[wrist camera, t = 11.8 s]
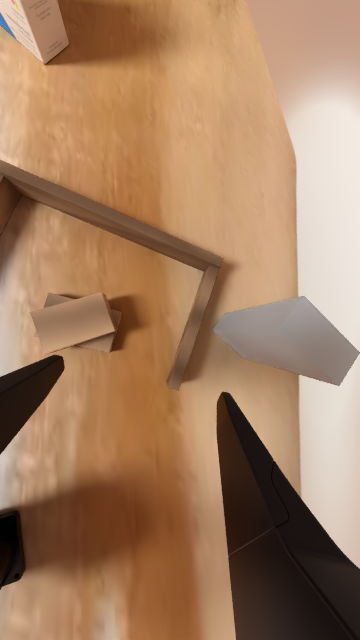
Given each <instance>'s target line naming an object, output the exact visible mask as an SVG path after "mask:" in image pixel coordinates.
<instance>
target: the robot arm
mask: <svg viewBox="0 0 360 640" xmlns="http://www.w3.org/2000/svg"><path fill="white" fill-rule="evenodd" d="M64 367H65V366H64V360H63V357H62V356H59V355H52V356H50V357H47V358H45V359H42V360H40V361H38V362H35V363H33V364H30V365H28V366H25V367H23V368H21V369H18V370H16V371H13V372H11V373H9V374H6V375H4V376H1V377H0V454H1V453H2V452H3V451H4V449H5V448H6V447H7V446H8V444H9V443H10V442H11V441H12V439H13V438H14V437H15V436H16V434H17V433H18V432H19V431H20V429H21V428H22V427H23V426H24V424H25V423H26V422H27V421H28V419H29V418H30V417H31V416H32V414H33V413H34V412H35V411H36V409H37V408H38V407H39V406H40V404H41V403H42V402H43V401H44V399H45V398H46V397H47V395H48V394H49V392H50V391H51V389H52V388H53V386H54V385H55V383H56V382H57V380H58V379H59V377H60V376H61V374H62V373H63V371H64ZM217 443H218V454H219V464H220V475H221V485H222V496H223V506H224V516H225V527H226V537H227V548H228V556H229V558H228V559H229V569H230V580H231V590H232V601H233V611H234V622H235V632H236V640H360V569H359V568H358V567H357V566H356V565H355V564H354V563H353V562H351V561H350V560H349V558H347V556H346V555H345V554H344V553H343V552H342V551H341V550H340V549H339V548H338V546H337V545H336V544H335V543H334V541H333V540H332V539H331V538H330V537H329V535H328V534H327V532H326V531H325V530H324V528H323V527H322V526H321V524H320V523H319V522H318V520H317V519H316V518H315V516H314V515H313V514H312V513H311V511H310V510H309V508H308V507H307V506H306V505H305V503H304V502H303V501H302V499H301V498H300V496H299V495H298V494H297V492H296V491H295V490H294V488H293V487H292V486H291V484H290V483H289V481H288V480H287V478H286V477H285V476H284V474H283V473H282V471H281V470H280V468H279V467H278V465H277V464H276V462H275V461H273V458H272V456H271V455H270V453H269V452H268V450H267V449H266V447H265V446H264V444H263V443H262V441H261V440H260V438H259V437H258V435H257V434H256V432H255V431H254V429H253V428H252V426H251V425H250V423H249V422H248V420H247V419H246V417H245V416H244V414H243V413H242V411H241V410H240V408H239V407H238V405H237V403H236V402H235V400H234V399H233V397H232V396H231V394H230V393H227V392H222V393H221V395H220V397H219V399H218V401H217ZM12 518H13V519H12ZM24 572H25V563H24V554H23V545H22V536H21V527H20V517H19V513H18V512H17V511H13V512H10V513H6V514H3V515H0V590H1V588H2V586H5V585H8V584H11V583H13V582H16V581H18V580H20V579H21V577H22V575H23V574H24Z"/></svg>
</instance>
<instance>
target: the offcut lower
mask: <svg viewBox="0 0 360 640" xmlns="http://www.w3.org/2000/svg"><path fill="white" fill-rule="evenodd" d="M72 300H75V299H71V298H67V297H63V296H60V295H56V294H52V293H48V296H47V299H46V302H45V305H44V308H47V307H51V306H54V305H58V304H61V303H65V302H68V301H72ZM44 308H43V309H44ZM111 312H112V315H113V318H114V321H115V324H116V327H117V330H118V327H119V324H120V320H121V317H122V312H121V311H117V310H113V309H111ZM116 334H117V331H116V332H113V333H110V334H107V335H104V336H101V337H98V338H95V339H92V340H89V341H86V342H83V343H80V344H77V345H75V346H80V347H84V348H89V349H93V350H98V351H102V352H107V353H110V352H112V348H113V345H114V341H115V338H116ZM34 336H35V337H39V336H38V333H37V330H36V332H35V335H34Z"/></svg>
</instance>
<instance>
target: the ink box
mask: <svg viewBox="0 0 360 640" xmlns="http://www.w3.org/2000/svg"><path fill="white" fill-rule="evenodd" d="M0 25H1V26H2V27H3V28H4V29H5V30H7V31H8V32H9V33H10V34H11V35H12V36H13V37H14V38H15V39H17V40H18V41H19V42H20V43H21V44H22V45H23V46H24V47H26V48H27V49H28V50H29V51H30V52H31V53H32V54H33V55H34V56H36V57H37V58H38V59H39V60H40V61H41V62H42V63H43V64H46V63H47V62H48V61H50V60H51V59H52V58H53V57H55V56H56V55H57V54H58V53H59V52H61V51H62V50H63V49H64V48H65V47H67V46H68V45H69V42H68V38H67V35H66V31H65V27H64V23H63V20H62V16H61V12H60V9H59V5H58V1H57V0H0Z"/></svg>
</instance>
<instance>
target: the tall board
mask: <svg viewBox="0 0 360 640" xmlns="http://www.w3.org/2000/svg"><path fill="white" fill-rule="evenodd" d="M212 330H213V331H214V332H215V333H216V334H217V335H218V336H219V337H220V338H221V339H222V340H223V341H225V342H226V343H227V344H228V345H229V346H230V347H231V348H232V349H233V350H234V351H235V352H236V353H238V354H239V355H240V356H241V357H242V358H244V359H247V360H251V361H254V362H258V363H261V364H265V365H268V366H272V367H275V368H278V369H282V370H285V371H289V372H292V373H296V374H299V375H303V376H307V377H310V378H313V379H317V380H320V381H324V382H327V383H330V384H334V385H338V386H339V385H340V384H341V382H342V381H343V379H344V377H345V376H346V374H347V372H348V371H349V369H350V368H351V366H352V365H353V363H354V361H355V360H356V358H357V357H358V355H359V353H360V352H359V351H358V350H357V349H356V348H355V347H354V346H353V345H352V344H351V343H350V342H349V341H348V340H347V339H346V338H345V337H344V336H343V335H342V334H341V333H340V332H339V331H338V330H337V329H336V328H335V327H334V326H333V325H332V324H331V323H330V322H329V321H328V320H327V319H326V318H325V317H324V316H323V315H322V314H321V313H320V312H319V311H318V309H317V308H315V306H313V304H312V303H311V302H309V300H308V299H307V298H306V297H305V296H301V297H297V298H292V299H288V300H283V301H279V302H275V303H270V304H266V305H261V306H257V307H253V308H248V309H244V310H240V311H235V312H231V313H226V314H225V315H224V316H223V317H222V318H221V319H220V321H219V322H218V323H217V324H216V325H215V327H214V328H213V329H212Z"/></svg>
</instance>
